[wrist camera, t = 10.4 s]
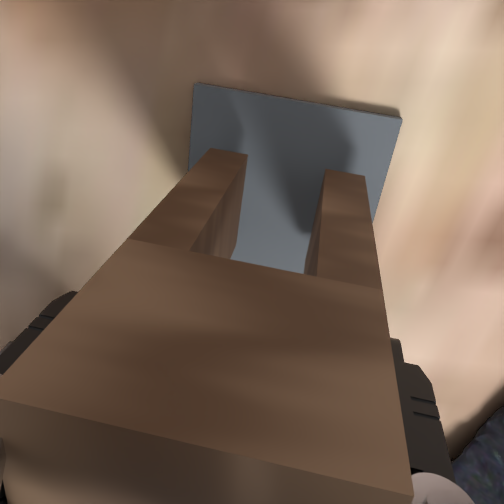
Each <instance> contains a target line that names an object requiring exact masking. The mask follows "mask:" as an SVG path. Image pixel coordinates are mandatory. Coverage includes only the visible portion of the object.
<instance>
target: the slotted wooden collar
mask: <svg viewBox="0 0 504 504" xmlns="http://www.w3.org/2000/svg"><path fill="white" fill-rule="evenodd" d="M247 159H248V154H242V153H237V152H231V151H226V150H220V149H215V148H210V149H209V150H208V151H207V152H206V153H205V154H204V155H203V156H202V157H201V158H200V159H199V161H198V162H197V163H196V164H195V165H194V166H193V167H192V168H191V169H190V170H189V172H188V173H187V174H186V175H185V176H184V177H183V178H182V179H181V180H180V181H179V182H178V184H177V185H176V186H175V187H174V188H173V189H172V190H171V191H170V192H169V193H168V195H167V196H166V197H165V198H164V199H163V200H162V201H161V202H160V203H159V204H158V205H157V207H156V208H155V209H154V210H153V211H152V212H151V213H150V214H149V215H148V216H147V218H146V219H145V220H144V221H143V222H142V223H141V224H140V225H139V226H138V227H137V228H136V230H135V231H134V232H133V233H132V234H131V235H130V236H129V237H128V238H127V239H126V241H125V242H124V243H123V244H122V245H121V246H120V247H119V248H118V249H117V250H116V252H115V253H114V254H113V255H112V256H111V257H110V258H109V259H108V260H107V261H106V262H105V264H104V265H103V266H102V267H101V268H100V269H99V270H98V271H97V272H96V273H95V275H94V276H93V277H92V278H91V279H90V280H89V281H88V282H87V283H86V284H85V285H84V287H83V288H82V289H81V290H80V291H79V292H78V293H77V294H76V295H75V296H74V298H73V299H72V300H71V301H70V302H69V303H68V304H67V305H66V306H65V307H64V308H63V310H62V311H61V312H60V313H59V314H58V315H57V316H56V317H55V318H54V319H53V321H52V322H51V323H50V324H49V325H48V326H47V327H46V328H45V329H44V330H43V331H42V333H41V334H40V335H39V336H38V337H37V338H36V339H35V340H34V341H33V342H32V344H31V345H30V346H29V347H28V348H27V349H26V350H25V351H24V352H23V353H22V354H21V356H20V357H19V358H18V359H17V360H16V361H15V362H14V363H13V364H12V365H11V367H10V368H9V369H8V370H7V371H6V372H5V373H4V374H3V375H2V376H1V377H0V437H1V438H3V442H4V447H5V452H6V463H5V468H4V473H3V483H4V488H5V493H6V498H7V502H8V504H411V503H412V501H413V499H414V497H415V496H414V490H413V483H412V477H411V470H410V464H409V457H408V451H407V444H406V438H405V431H404V425H403V419H402V412H401V406H400V399H399V393H398V386H397V380H396V373H395V367H394V360H393V354H392V348H391V341H390V335H389V328H388V322H387V315H386V309H385V302H384V296H383V289H382V283H381V277H380V270H379V264H378V257H377V251H376V244H375V238H374V231H373V225H372V218H371V212H370V206H369V199H368V193H367V186H366V180H365V176H363V175H358V174H352V173H347V172H341V171H336V170H330V169H325V173H324V177H323V182H322V186H321V191H320V196H319V200H318V205H317V209H316V214H315V218H314V223H313V227H312V232H311V236H310V241H309V245H308V250H307V254H306V259H305V267H304V274H301V273H296V272H291V271H286V270H281V269H276V268H272V267H267V266H262V265H257V264H252V263H247V262H242V261H237V260H232V259H230V258H231V256H232V254H233V251H234V249H235V247H236V242H237V235H238V227H239V220H240V212H241V205H242V197H243V190H244V182H245V175H246V167H247Z"/></svg>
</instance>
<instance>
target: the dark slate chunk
mask: <svg viewBox="0 0 504 504" xmlns="http://www.w3.org/2000/svg"><path fill="white" fill-rule="evenodd" d="M451 465H452V469H453V473H454V477H455V481H456V484H457V485H458V486H459V487H460V488H461V489H462V490H464V491H465V493H466V494H467V495H468V496H469V497H470V498H471V499H472V501H473V502H474V503H475V504H504V406H502V407H501V408H500V409H498V410H497V411H496V412H495V413H494V414H493V415H492V417H489V418H488V420H487V421H486V423H485V424H484V425H483V426H482V427H481V428H480V429H479V430H478V432H477V434H476V436H475V437H474V439H473V440H472V441H471V442H470V443H469V444H468V445H467V446H466V447H465V448H464V450H463V453H462V454H461V455H460V456H459V457H457V458H456V459H455V460H454V461H452V462H451Z"/></svg>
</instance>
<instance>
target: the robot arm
mask: <svg viewBox="0 0 504 504" xmlns="http://www.w3.org/2000/svg"><path fill="white" fill-rule="evenodd" d="M77 293H78V292H75V291H71V292H69V293H67V294H65V295H63V296H61V297H59V298H57V299H55V300H53V301H52V302H51V303H50V304H49V305H48V306H47V307H46V308H45V309H44V310H43V311H42V312H41V313H40V315H39V317H36V318H35V319H34V321H33V322H32V323H31V324H30V325H29V327H28V329H27V328H26V329H25V330H24V331H23V332H22V333H21V334H20V335H19V336H18V337H17V338H16V339H15V340H14V341H13V342H12V343H11V344H10V345H9V346H8V347H7V348H6V349H5V350H4V351H3V352H2V353H1V355H0V377H1V376H2V375H3V374H4V373H5V372H6V371H7V370H8V369H9V368H10V367H11V365H12V364H13V363H14V362H15V361H16V360H17V359H18V358H19V357H20V356H21V354H22V353H23V352H24V351H25V350H26V349H27V348H28V347H29V346H30V345H31V344H32V342H33V341H34V340H35V339H36V338H37V337H38V336H39V335H40V334H41V333H42V331H43V330H44V329H45V328H46V327H47V326H48V325H49V324H50V323H51V322H52V321H53V319H54V318H55V317H56V316H57V315H58V314H59V313H60V312H61V311H62V310H63V308H64V307H65V306H66V305H67V304H68V303H69V302H70V301H71V300H72V299H73V298H74V296H75V295H76V294H77ZM390 341H391V348H392V354H393V360H394V367H395V373H396V380H397V386H398V393H399V399H400V406H401V412H402V419H403V425H404V431H405V438H406V444H407V451H408V457H409V464H410V470H411V477H412V483H413V490H414V496H415V497H414V499H413V501H412V503H411V504H475V503H474V502H473V501H472V499H471V498H470V497H469V496H468V495H467V494H466V493H465V491H464V490H462V489H461V488H460V487H459V486H458V485H457V484H456V481H455V477H454V473H453V469H452V465H451V461H450V457H449V453H448V448H447V444H446V440H445V436H444V432H443V428H442V424H441V421H439V419H440V416H439V412H438V408H437V406H436V400H435V396H434V392H433V388H432V383H431V382H430V381H429V379H428V378H427V376H426V375H425V374H424V372H423V371H422V370H421V368H420V367H419V366H418V365H414V364H409V363H404V359H403V353H402V348H401V343H400V340H399V339H394V338H390ZM5 463H6V452H5V447H4V442H3V438H1V437H0V504H8V502H7V498H6V493H5V488H4V483H3V473H4V468H5Z"/></svg>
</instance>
